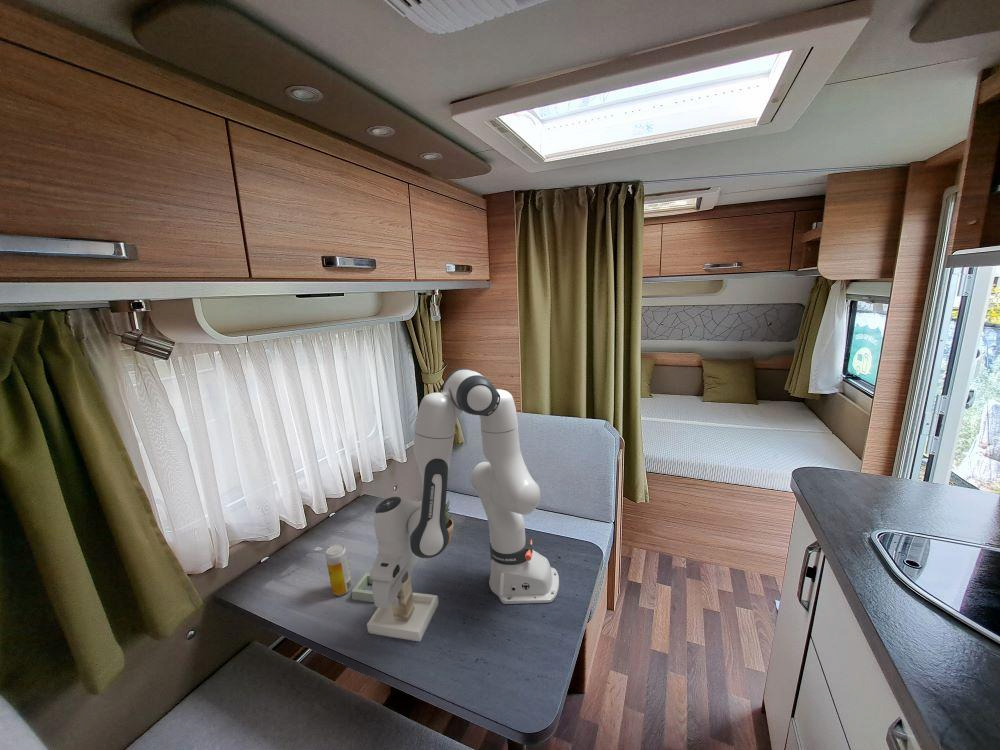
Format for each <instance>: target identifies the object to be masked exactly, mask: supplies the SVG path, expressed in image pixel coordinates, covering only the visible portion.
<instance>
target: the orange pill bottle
mask: <svg viewBox="0 0 1000 750" xmlns="http://www.w3.org/2000/svg"><path fill="white" fill-rule="evenodd" d="M325 561H326V566H327V571H328V576H329V582H330V586H331V592H332V594H333V595H335V596H338V597H339V596H340V597H342V596H343V595H346V594H348V593H349V592H350V591H351V589H352V586H353V582H352V577H351V576H352V575H351V571H350V565H349V559H348V553H347V549H346V547H345V545H343V544H339V543H338V544H334V545H331V546H330V547H329V548H327V550H326V553H325Z"/></svg>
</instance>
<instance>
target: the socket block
mask: <svg viewBox="0 0 1000 750" xmlns="http://www.w3.org/2000/svg"><path fill="white" fill-rule="evenodd" d="M372 583H373V579H370V572H365V574H364V575H363V576H362V577H361V578H360V580H359V581H358V582H357V583H356V585H355V586H354V587H353V589H352V590H350V591H351V597H352V600H354V601H355V600H356V601H362V602H370V603H374V598H373V591H372V590H368V589H366V587H367V586H368V585H372Z"/></svg>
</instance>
